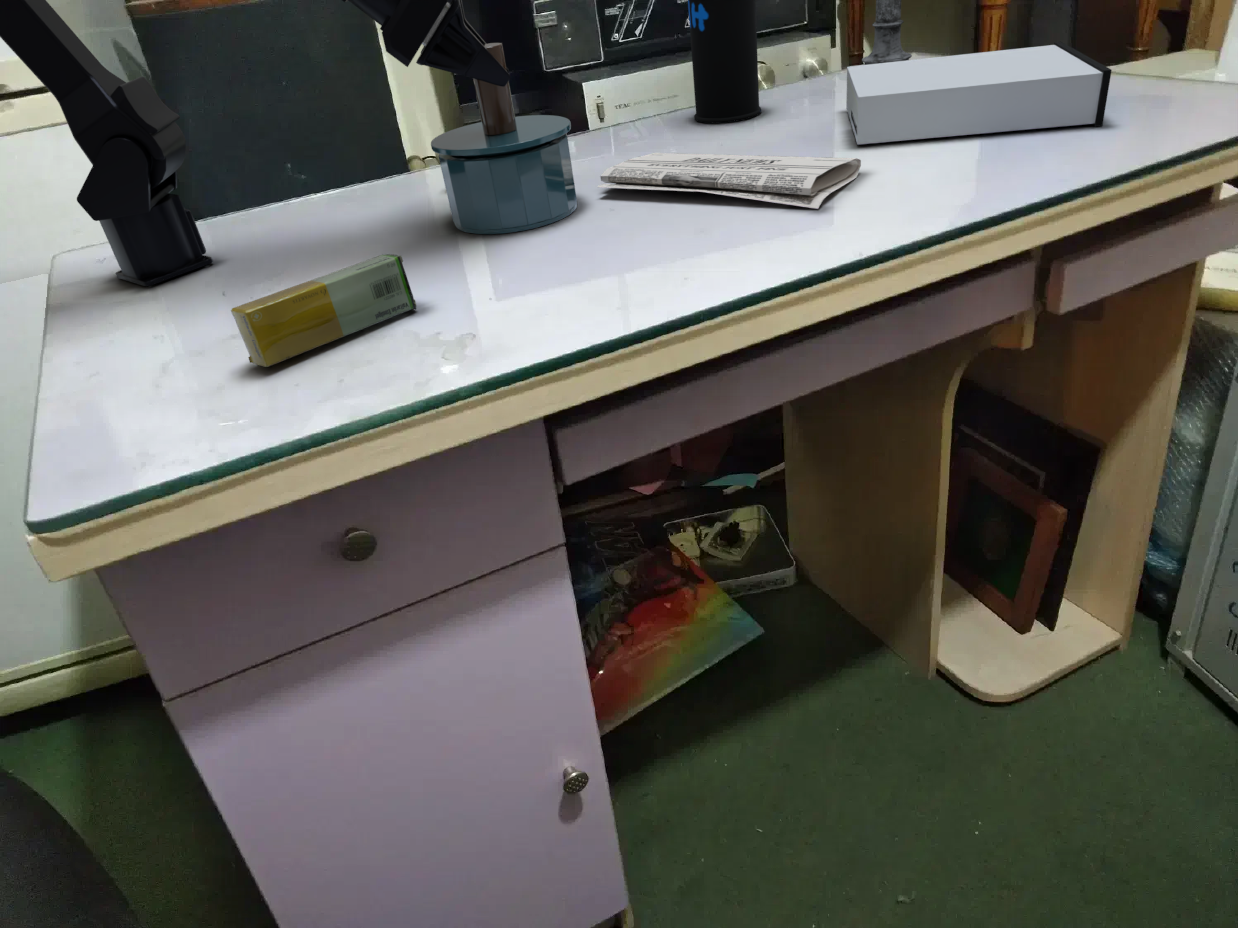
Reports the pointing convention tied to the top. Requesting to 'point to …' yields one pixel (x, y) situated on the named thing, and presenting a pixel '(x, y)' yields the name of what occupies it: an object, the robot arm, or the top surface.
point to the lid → (499, 123)
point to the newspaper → (737, 176)
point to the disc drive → (976, 94)
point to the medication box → (323, 309)
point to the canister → (510, 188)
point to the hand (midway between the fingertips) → (507, 79)
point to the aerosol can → (724, 59)
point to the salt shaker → (887, 34)
